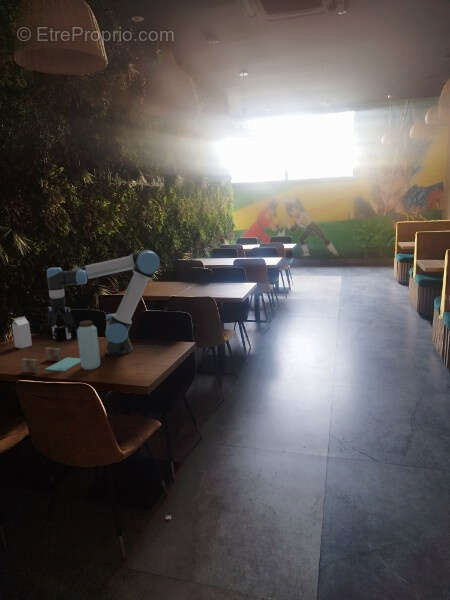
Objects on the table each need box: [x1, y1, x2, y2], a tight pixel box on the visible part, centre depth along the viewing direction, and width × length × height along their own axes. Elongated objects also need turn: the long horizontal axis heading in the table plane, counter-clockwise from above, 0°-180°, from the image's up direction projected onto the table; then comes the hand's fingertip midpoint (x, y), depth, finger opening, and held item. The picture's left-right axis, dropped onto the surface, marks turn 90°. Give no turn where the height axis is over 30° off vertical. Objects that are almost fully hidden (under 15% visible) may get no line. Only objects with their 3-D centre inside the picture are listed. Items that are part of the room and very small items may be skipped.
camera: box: [52, 323, 77, 344], centre depth 225 cm, size 14×7×8 cm, turn 154°
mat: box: [45, 357, 81, 373], centre depth 227 cm, size 12×18×1 cm, turn 163°
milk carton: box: [11, 315, 33, 349], centre depth 261 cm, size 7×7×19 cm
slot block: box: [21, 347, 63, 374], centre depth 226 cm, size 9×20×7 cm, turn 164°
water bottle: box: [76, 320, 101, 371], centre depth 220 cm, size 10×10×25 cm
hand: (62, 338), depth 224 cm, fingers closed on camera, 8 cm apart
